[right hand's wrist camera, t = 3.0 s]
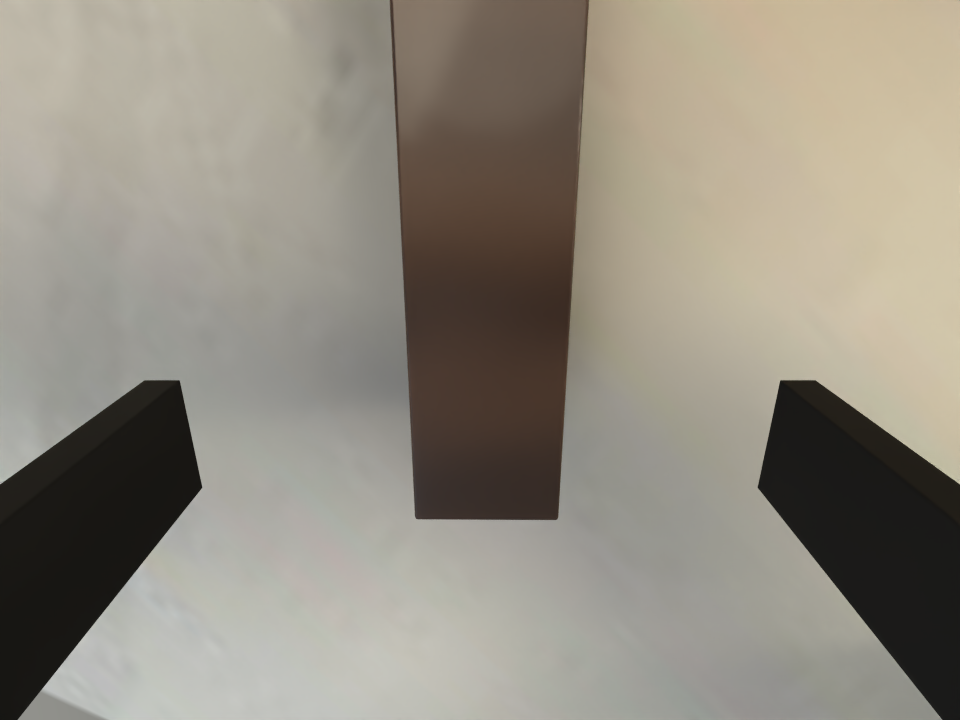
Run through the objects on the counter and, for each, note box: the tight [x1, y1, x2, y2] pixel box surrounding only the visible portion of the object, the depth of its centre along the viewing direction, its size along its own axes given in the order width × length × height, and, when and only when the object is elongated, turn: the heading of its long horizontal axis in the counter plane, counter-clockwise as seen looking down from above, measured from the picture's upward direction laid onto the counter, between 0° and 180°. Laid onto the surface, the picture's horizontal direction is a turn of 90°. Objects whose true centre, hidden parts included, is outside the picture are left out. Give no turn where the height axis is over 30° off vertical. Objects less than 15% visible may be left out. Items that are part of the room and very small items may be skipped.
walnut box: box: [390, 0, 589, 520], centre depth 19 cm, size 30×5×10 cm, turn 0°
